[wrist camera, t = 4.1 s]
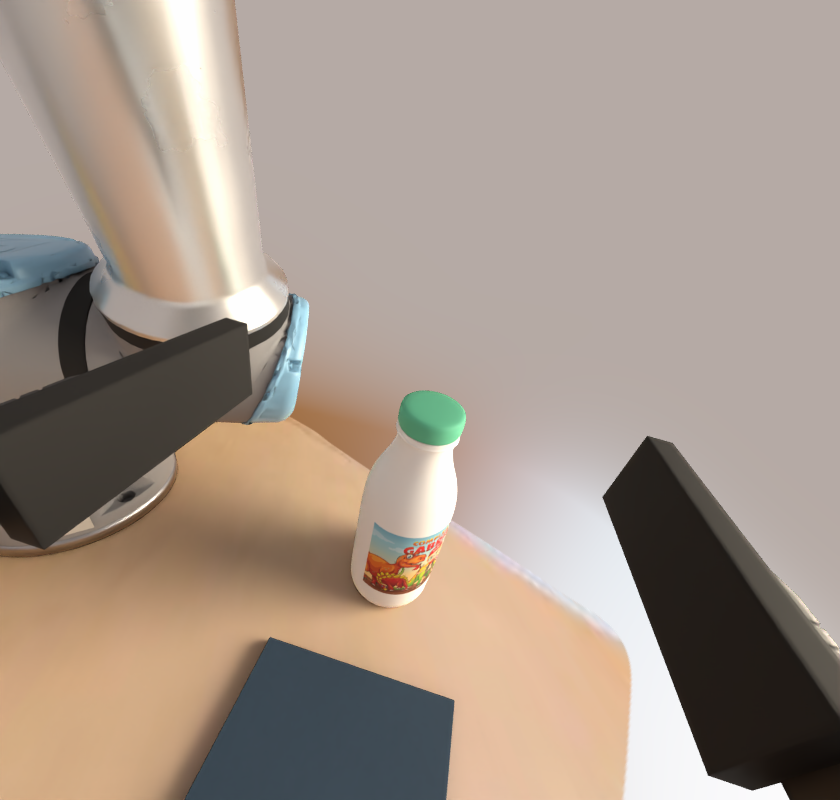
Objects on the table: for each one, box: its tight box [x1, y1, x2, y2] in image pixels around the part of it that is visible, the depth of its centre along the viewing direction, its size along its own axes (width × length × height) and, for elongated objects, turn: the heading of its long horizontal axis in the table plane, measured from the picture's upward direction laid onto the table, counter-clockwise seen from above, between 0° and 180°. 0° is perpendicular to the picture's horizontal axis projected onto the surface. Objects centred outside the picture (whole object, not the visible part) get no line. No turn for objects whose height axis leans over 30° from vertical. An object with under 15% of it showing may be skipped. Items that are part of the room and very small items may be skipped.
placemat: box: [184, 637, 454, 800], centre depth 21 cm, size 15×11×1 cm
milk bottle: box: [351, 391, 466, 608], centre depth 28 cm, size 8×8×20 cm
